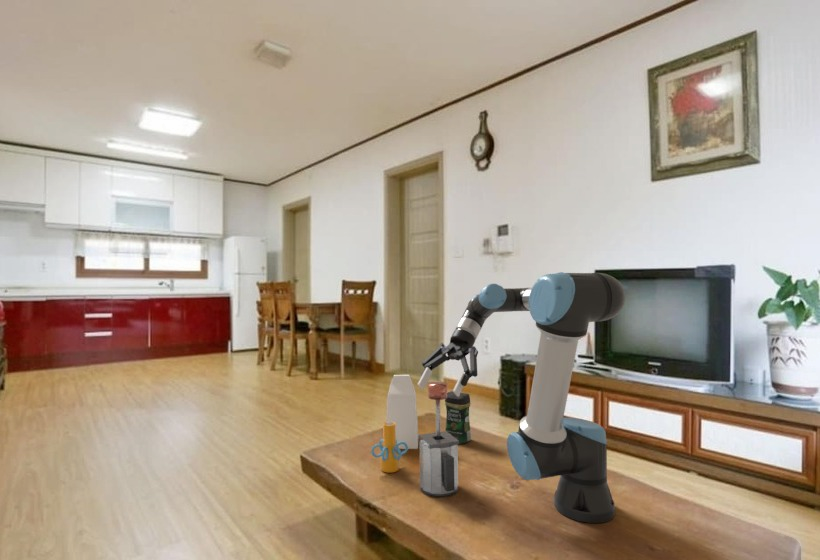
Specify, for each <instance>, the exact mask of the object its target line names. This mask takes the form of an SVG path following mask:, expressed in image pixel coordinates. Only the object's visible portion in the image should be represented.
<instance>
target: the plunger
mask: <svg viewBox="0 0 820 560" xmlns="http://www.w3.org/2000/svg"><path fill="white" fill-rule="evenodd" d="M427 383H428V384H427V385H428V386H427V389H428V390H427V392H428V399H430V400H433V401H435V432H436V440H440V439H441V432H442V431H441V427H442V426H441V425H442V424H441V400H445V399H446V398H447V393H448V384H447V383H446V382H445V381H444V382H443V381H432V382H427Z"/></svg>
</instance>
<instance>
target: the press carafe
mask: <svg viewBox="0 0 820 560" xmlns="http://www.w3.org/2000/svg"><path fill="white" fill-rule="evenodd" d="M418 440H419V441H418V447H419V487H420V488H419V489H420V492H421V493H422V494H423V495H425V496H428V497H430V498H436V499H437V498H438V499H440V498H441V499H442V498H449V497H452V496H454V495H456V494H457V493H458V491H459V465H458V464H459V463H458V462H459V461H458V457H459V455H458V452H459V451H458V449H459V448H458V445H460V443H459V441H458V440H457V439H456V438H455V437H453V436H452V435H451V434H450V433H448V432H447V431H445V430H443V431H441V439H440V440H436V431H435V432H431V433H430V432H429V433H421V434H418Z"/></svg>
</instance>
